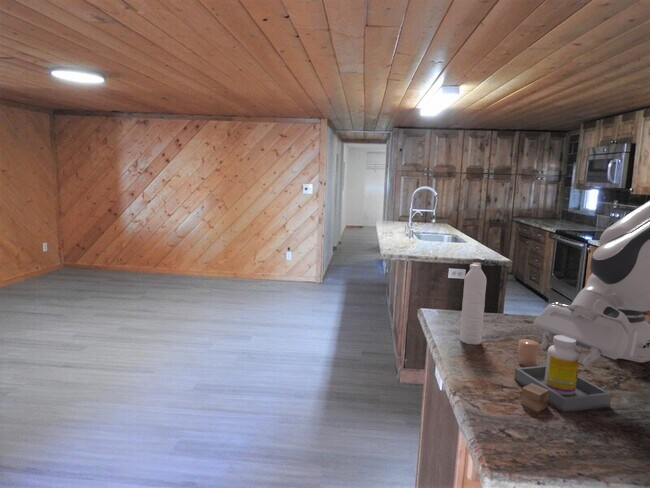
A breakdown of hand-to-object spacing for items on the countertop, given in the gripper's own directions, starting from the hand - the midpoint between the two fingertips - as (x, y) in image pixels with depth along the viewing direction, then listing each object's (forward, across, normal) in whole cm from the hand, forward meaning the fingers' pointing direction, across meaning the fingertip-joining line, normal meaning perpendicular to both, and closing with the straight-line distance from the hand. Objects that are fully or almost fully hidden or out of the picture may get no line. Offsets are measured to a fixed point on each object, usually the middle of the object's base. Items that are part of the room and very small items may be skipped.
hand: (561, 357), depth 102 cm
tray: (+6, 0, +7) cm, 9 cm away
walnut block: (+14, +1, -1) cm, 14 cm away
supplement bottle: (+6, 0, +6) cm, 9 cm away
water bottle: (+2, -33, +11) cm, 34 cm away
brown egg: (0, -14, +12) cm, 19 cm away
